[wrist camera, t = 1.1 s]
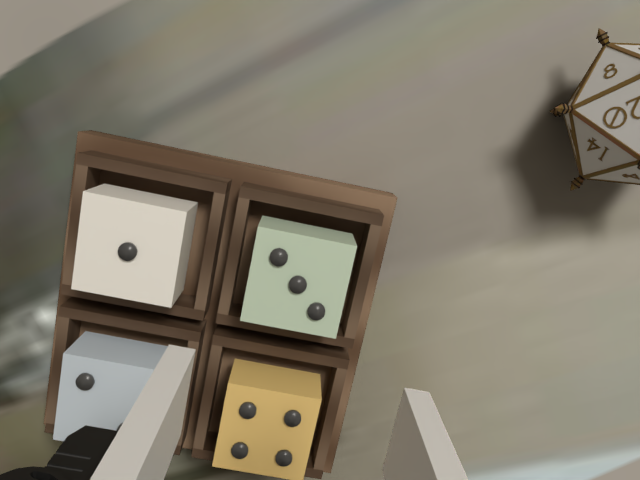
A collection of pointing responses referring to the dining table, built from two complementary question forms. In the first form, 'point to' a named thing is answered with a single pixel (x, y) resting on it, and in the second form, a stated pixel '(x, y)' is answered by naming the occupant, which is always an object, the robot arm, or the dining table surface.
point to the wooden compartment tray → (225, 279)
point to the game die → (606, 116)
